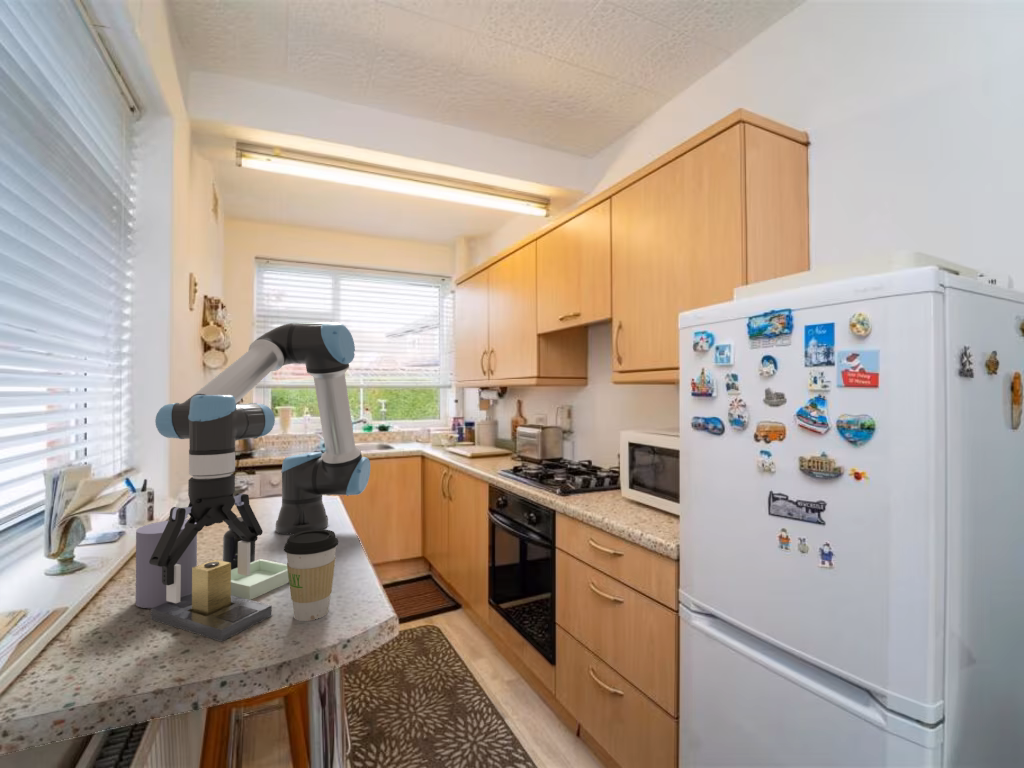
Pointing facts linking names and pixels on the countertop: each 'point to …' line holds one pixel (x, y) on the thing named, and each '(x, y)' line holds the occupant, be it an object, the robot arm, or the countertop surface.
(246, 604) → the slotted grey trivet
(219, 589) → the upright wooden post
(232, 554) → the supplement bottle
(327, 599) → the coffee cup
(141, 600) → the container
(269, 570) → the tray
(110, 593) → the countertop surface
